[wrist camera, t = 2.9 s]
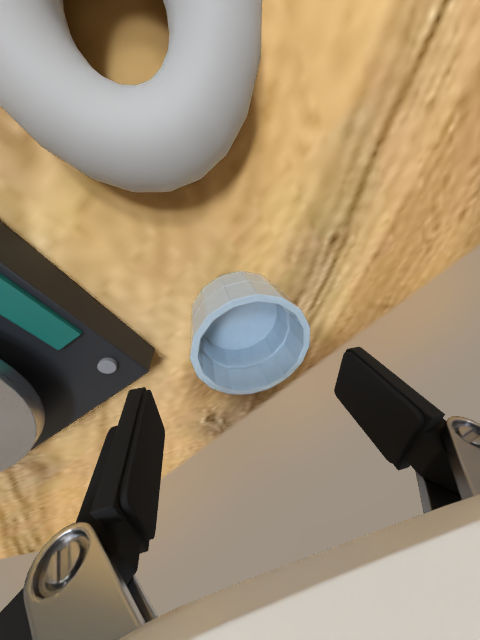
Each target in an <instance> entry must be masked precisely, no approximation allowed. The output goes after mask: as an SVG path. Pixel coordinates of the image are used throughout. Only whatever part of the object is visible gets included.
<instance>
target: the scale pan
mask: <svg viewBox="0 0 480 640" xmlns="http://www.w3.org/2000/svg"><path fill="white" fill-rule="evenodd" d="M44 424H45V412H44V407H43V404H42V402H41V399H40V397H39V396H38V394H37V393H36V391H35V390H34V388H33V387H32V386H31V385H30V383H29V382H28V381H27V380H26V379H25V378H24V377H23V376H22V375H21V374H19V373H18V372H17V371H16V370H15V369H14V368H13V367H11V366H10V365H8V364H7V363H5V362H4V361H3V360H1V359H0V472H1V471H3V470H5V469H7V468H9V467H11V466H12V465H14V464H16V463H17V462H18V461H20V460H21V459H22V458H23V457H24V456H25V455H26V454H27V453H28V452H29V451H30V450H31V448H32V447H33V445H34V444H35V442H36V441H37V439H38V437H39V436H40V434H41V432H42V430H43V427H44Z"/></svg>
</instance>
